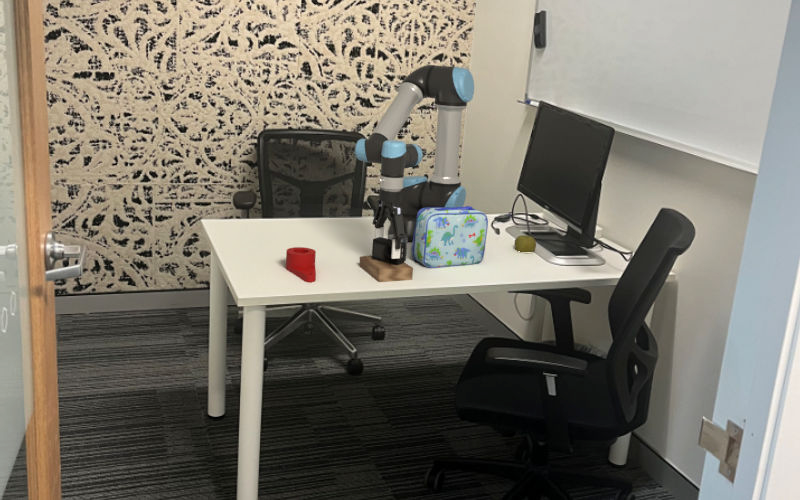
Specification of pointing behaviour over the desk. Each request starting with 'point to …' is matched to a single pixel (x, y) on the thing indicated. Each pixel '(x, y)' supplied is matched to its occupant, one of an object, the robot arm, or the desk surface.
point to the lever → (301, 263)
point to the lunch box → (449, 236)
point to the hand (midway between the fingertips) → (386, 252)
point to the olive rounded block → (525, 243)
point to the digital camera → (386, 251)
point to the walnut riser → (385, 270)
